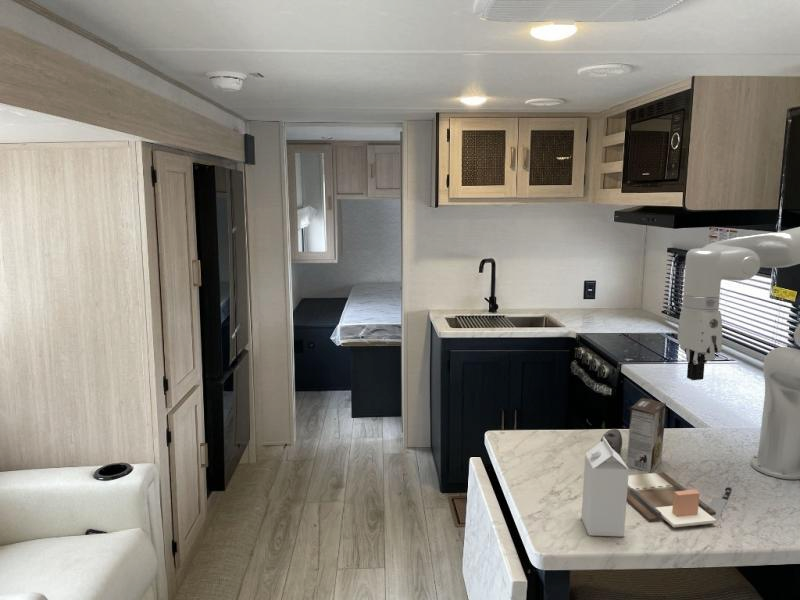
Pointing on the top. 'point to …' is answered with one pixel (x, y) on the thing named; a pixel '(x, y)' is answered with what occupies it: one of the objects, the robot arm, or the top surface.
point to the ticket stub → (685, 510)
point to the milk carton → (604, 491)
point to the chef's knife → (719, 504)
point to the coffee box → (646, 434)
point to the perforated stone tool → (614, 439)
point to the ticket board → (655, 494)
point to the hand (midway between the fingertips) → (695, 378)
